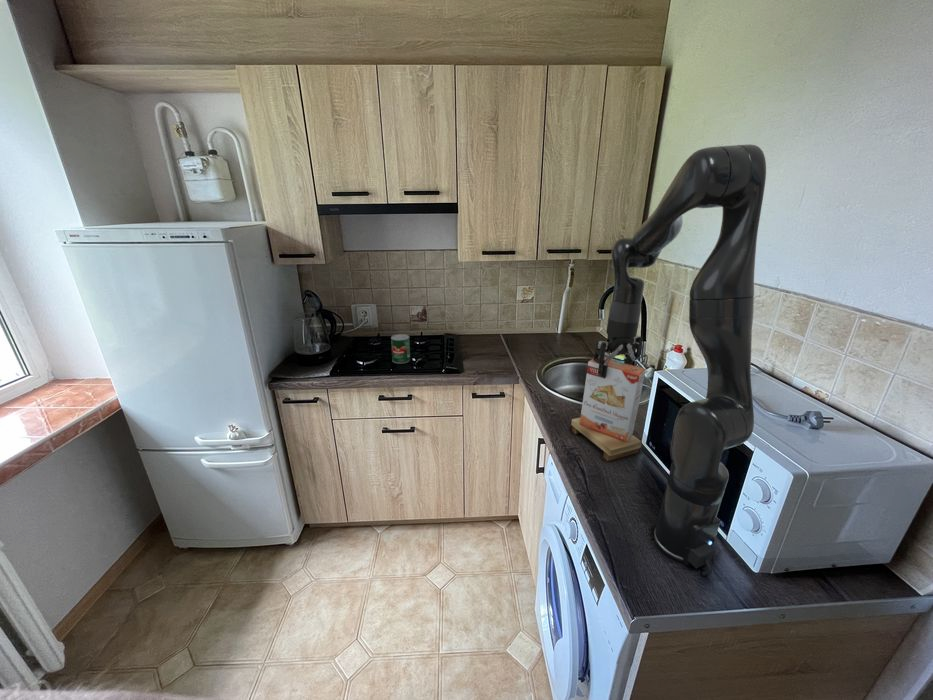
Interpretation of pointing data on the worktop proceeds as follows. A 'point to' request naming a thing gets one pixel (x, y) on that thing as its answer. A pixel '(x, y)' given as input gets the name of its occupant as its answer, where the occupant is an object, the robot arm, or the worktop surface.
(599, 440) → the tan wooden slab
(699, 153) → the robot arm
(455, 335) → the worktop surface
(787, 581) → the worktop surface
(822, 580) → the worktop surface
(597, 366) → the cracker box
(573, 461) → the worktop surface
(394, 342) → the canned tomato
